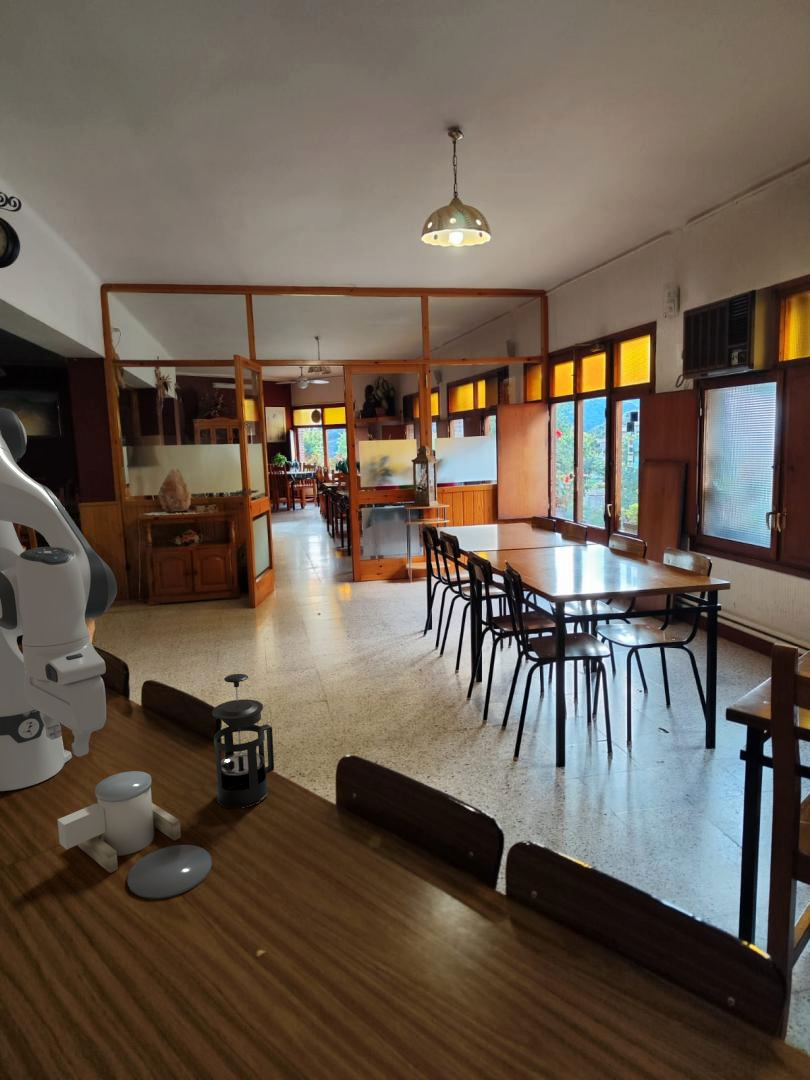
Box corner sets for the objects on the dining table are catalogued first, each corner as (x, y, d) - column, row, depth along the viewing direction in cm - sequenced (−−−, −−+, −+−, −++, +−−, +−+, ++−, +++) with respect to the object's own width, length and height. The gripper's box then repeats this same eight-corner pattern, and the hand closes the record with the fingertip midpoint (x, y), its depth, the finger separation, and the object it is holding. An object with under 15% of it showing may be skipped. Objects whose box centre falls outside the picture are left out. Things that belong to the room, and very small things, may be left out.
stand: (75, 844, 108) (73, 826, 107) (144, 812, 117) (142, 796, 116) (110, 873, 100) (108, 854, 100) (181, 837, 109) (179, 820, 109)
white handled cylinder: (139, 820, 114) (135, 766, 113) (165, 838, 109) (161, 781, 107) (53, 860, 104) (48, 800, 102) (77, 882, 98) (71, 819, 97)
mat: (112, 875, 99) (112, 872, 99) (184, 839, 108) (184, 836, 108) (154, 910, 92) (153, 906, 92) (227, 868, 101) (227, 864, 101)
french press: (228, 816, 115) (220, 690, 112) (204, 796, 122) (196, 677, 119) (286, 792, 123) (280, 673, 120) (260, 774, 130) (254, 662, 127)
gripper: (8, 650, 102) (18, 735, 104) (65, 676, 89) (74, 773, 91) (51, 640, 107) (60, 722, 109) (111, 664, 94) (119, 756, 95)
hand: (67, 745), depth 100 cm, fingers open, 8 cm apart
